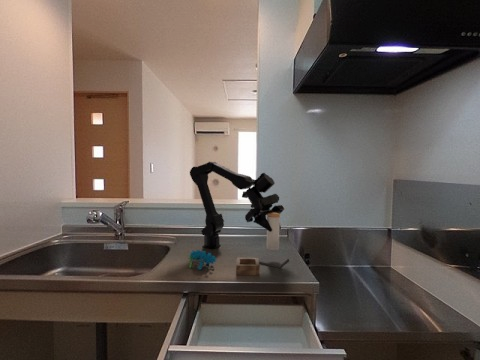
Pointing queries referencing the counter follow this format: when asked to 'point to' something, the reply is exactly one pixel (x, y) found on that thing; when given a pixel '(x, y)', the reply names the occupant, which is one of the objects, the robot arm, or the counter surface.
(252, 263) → the socket block
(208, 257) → the blue lumpy piece
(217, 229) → the robot arm
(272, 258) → the mat
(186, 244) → the counter surface
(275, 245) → the plug
